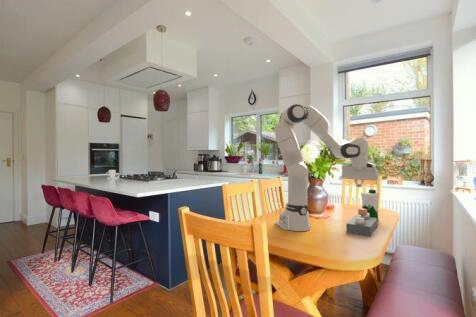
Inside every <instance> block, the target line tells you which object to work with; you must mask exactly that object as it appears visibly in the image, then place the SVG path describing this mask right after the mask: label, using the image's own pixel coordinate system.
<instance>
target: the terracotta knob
mask: <svg viewBox="0 0 476 317" xmlns="http://www.w3.org/2000/svg"><path fill="white" fill-rule="evenodd" d="M357 215H358V216H361V218H364V215H367V209H362V207H361V208H358V209H357Z"/></svg>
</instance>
